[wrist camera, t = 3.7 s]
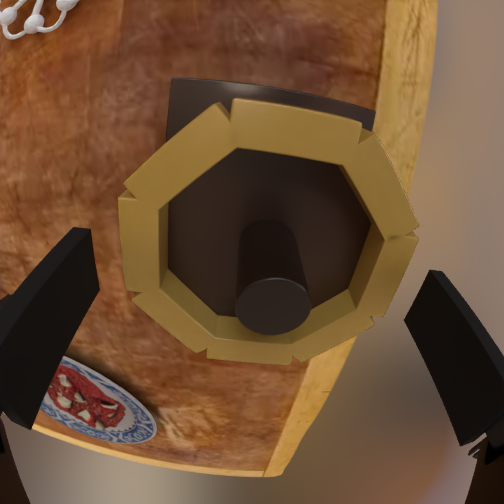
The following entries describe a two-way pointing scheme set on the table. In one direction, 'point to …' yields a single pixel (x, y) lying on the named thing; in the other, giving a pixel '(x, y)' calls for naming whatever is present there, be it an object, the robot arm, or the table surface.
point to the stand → (263, 218)
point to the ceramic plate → (96, 405)
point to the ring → (280, 142)
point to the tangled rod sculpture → (33, 17)
